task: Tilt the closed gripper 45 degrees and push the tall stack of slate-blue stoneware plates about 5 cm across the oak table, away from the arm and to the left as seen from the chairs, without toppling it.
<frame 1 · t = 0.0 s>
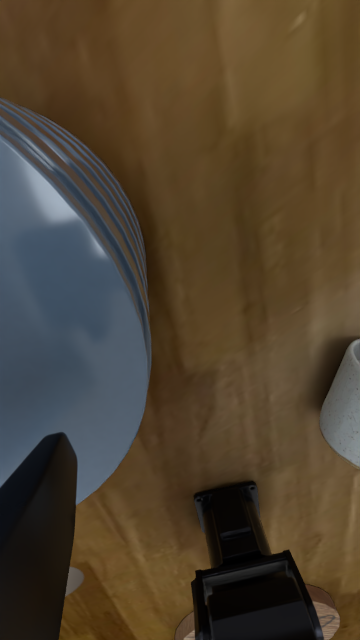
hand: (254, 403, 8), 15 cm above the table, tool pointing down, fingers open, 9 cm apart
trivet: (254, 623, 49), on the table
plate stack: (8, 261, 20), on the table
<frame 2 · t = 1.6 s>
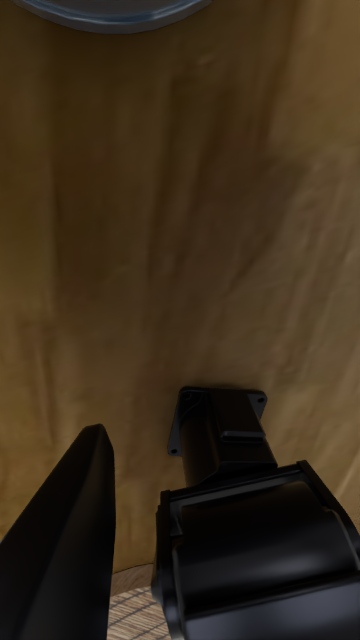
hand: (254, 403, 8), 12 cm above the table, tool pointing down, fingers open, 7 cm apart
trivet: (165, 614, 39), on the table
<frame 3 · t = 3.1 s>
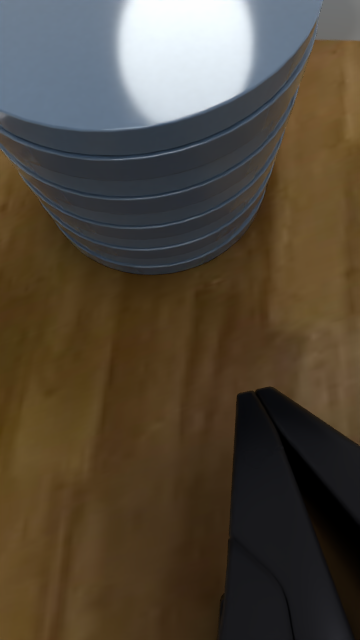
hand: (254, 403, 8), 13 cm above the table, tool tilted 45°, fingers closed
plate stack: (155, 174, 25), on the table
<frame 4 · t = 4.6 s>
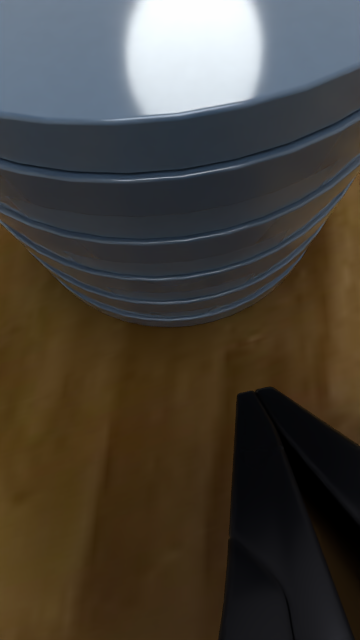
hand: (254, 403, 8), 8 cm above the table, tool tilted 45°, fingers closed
plate stack: (172, 190, 19), on the table
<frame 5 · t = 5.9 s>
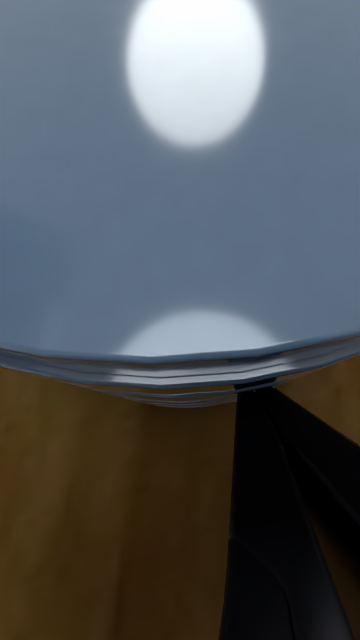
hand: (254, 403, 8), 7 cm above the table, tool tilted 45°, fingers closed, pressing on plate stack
plate stack: (184, 244, 17), on the table, touching gripper
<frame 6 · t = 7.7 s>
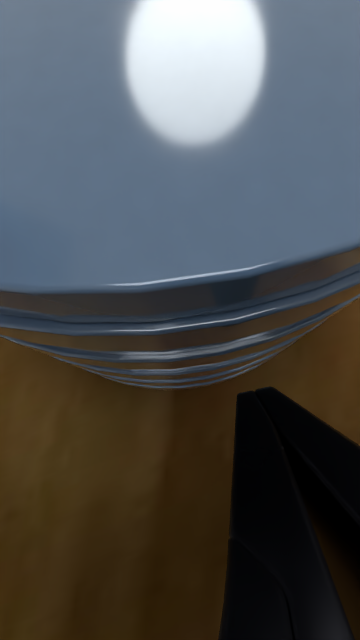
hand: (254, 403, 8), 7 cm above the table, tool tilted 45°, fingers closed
plate stack: (171, 228, 17), on the table
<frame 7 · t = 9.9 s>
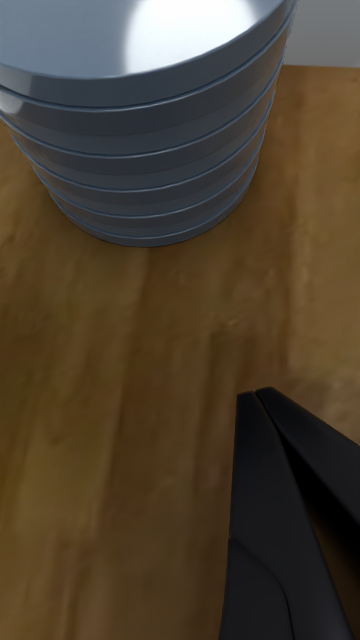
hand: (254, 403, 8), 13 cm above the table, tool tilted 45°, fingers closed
plate stack: (150, 152, 25), on the table
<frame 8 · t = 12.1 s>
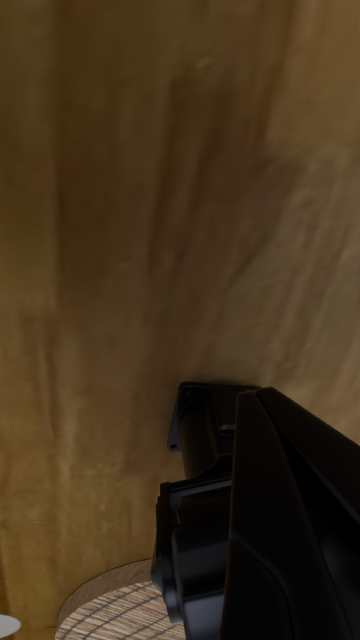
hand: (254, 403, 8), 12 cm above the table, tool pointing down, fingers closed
trivet: (164, 610, 39), on the table
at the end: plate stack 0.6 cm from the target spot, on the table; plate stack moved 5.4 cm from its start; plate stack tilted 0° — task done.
